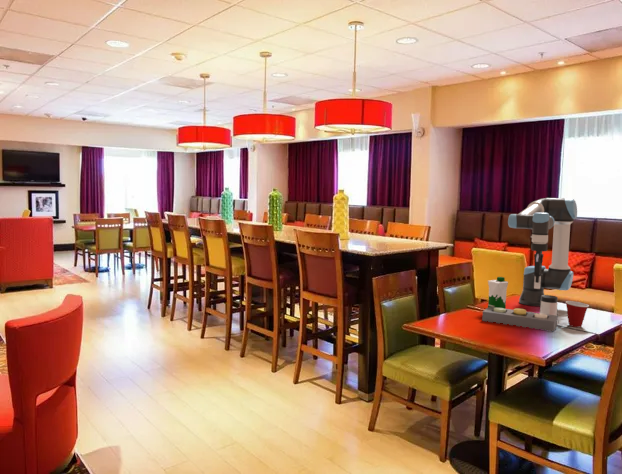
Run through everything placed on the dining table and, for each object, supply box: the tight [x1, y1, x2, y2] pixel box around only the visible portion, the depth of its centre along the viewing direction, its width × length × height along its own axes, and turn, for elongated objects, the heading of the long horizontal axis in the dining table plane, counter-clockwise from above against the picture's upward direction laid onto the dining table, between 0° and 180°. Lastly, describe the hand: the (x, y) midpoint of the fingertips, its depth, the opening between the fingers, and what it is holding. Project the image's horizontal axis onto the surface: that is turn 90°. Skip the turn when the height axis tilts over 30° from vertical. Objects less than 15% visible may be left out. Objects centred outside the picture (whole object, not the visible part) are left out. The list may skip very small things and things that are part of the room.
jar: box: [539, 294, 559, 316], centre depth 268 cm, size 9×8×12 cm
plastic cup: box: [565, 300, 590, 328], centre depth 254 cm, size 11×11×12 cm
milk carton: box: [487, 276, 509, 309], centre depth 278 cm, size 9×9×20 cm
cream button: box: [534, 312, 547, 319], centre depth 252 cm, size 6×6×2 cm
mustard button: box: [513, 307, 527, 315], centre depth 257 cm, size 6×6×2 cm
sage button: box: [494, 308, 507, 313], centre depth 263 cm, size 6×6×2 cm
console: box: [481, 306, 559, 332], centre depth 258 cm, size 14×34×5 cm, turn 57°
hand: (537, 288), depth 256 cm, fingers closed
